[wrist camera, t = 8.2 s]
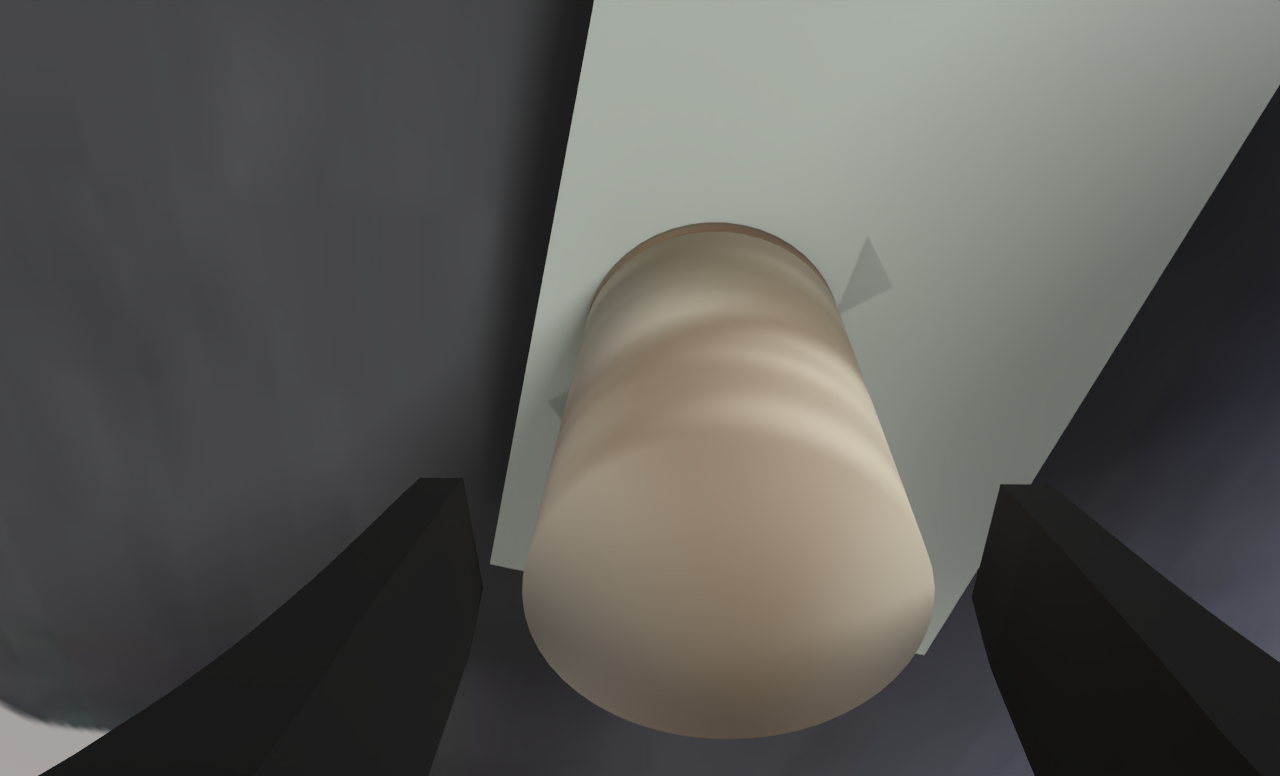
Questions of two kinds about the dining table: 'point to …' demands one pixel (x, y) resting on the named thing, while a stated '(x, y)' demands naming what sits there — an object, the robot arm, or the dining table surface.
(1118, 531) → the dining table surface
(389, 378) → the dining table surface
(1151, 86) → the board
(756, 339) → the peg
